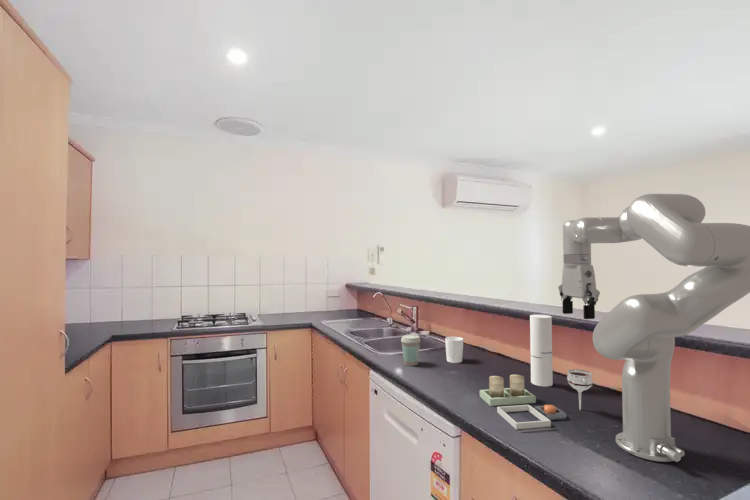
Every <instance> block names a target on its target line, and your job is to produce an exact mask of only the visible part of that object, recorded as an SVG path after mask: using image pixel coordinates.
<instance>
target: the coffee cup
mask: <svg viewBox="0 0 750 500" xmlns="http://www.w3.org/2000/svg"><path fill="white" fill-rule="evenodd" d="M400 342H401V348H402V355H403V363H404V366H407V365H409V366H408V367H415V365H416V366H418V364H419V354H420V343H421V339H420V336H419V335H417V334H404V335H402V336H401V339H400Z"/></svg>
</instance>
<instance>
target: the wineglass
mask: <svg viewBox="0 0 750 500" xmlns="http://www.w3.org/2000/svg"><path fill="white" fill-rule="evenodd" d="M592 376H593V373H592V372H590V371H589V370H584V369H578V368H576V369H575V368H571V369H567V376H566V379H567V383H568V384H569V386H570V387H571V388H572V389H575V390H576V392H577V393H578V407H579V409H578V410H579V411H581V409H582V393H583V392H584V391H588V390H589V389H590V388H592V386H593V383H594V380H593V378H592Z"/></svg>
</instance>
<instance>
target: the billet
mask: <svg viewBox="0 0 750 500" xmlns="http://www.w3.org/2000/svg"><path fill="white" fill-rule="evenodd" d="M488 379H489V380H488V386H489V387H488V388H489V396H490V397H491V398H498V397H504V388H505V383H504V382H505V381H504V377H502V376H499V375H490V376H489V377H488Z"/></svg>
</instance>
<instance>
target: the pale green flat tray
mask: <svg viewBox="0 0 750 500" xmlns="http://www.w3.org/2000/svg"><path fill="white" fill-rule="evenodd" d="M524 393H525V396H512V395H511V394H510V387H504V397H498V398H491V397H490V396H489V389H488V388H487V389H479V397H480V398H481V399H482V400H483V401H484V402H485V403H487V404H488V406H489V407H493V406H496V407H499V406H513V405H527V404H536V403H537V399H536V398H537V396H536V395H535V394H533V393H532V392H530V391H529V390H527V389H526V388H524Z"/></svg>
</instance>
